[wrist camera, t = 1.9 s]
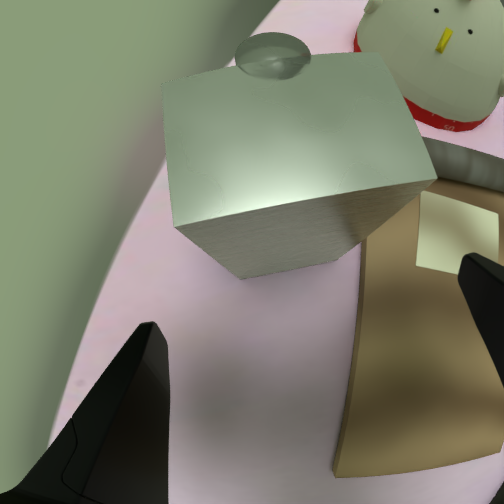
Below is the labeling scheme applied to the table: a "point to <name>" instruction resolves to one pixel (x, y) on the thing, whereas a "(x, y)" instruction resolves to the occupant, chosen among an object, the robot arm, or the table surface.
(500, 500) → the phone stand
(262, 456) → the table surface
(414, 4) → the kitchen timer
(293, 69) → the brushed steel block
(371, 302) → the walnut base leaf
